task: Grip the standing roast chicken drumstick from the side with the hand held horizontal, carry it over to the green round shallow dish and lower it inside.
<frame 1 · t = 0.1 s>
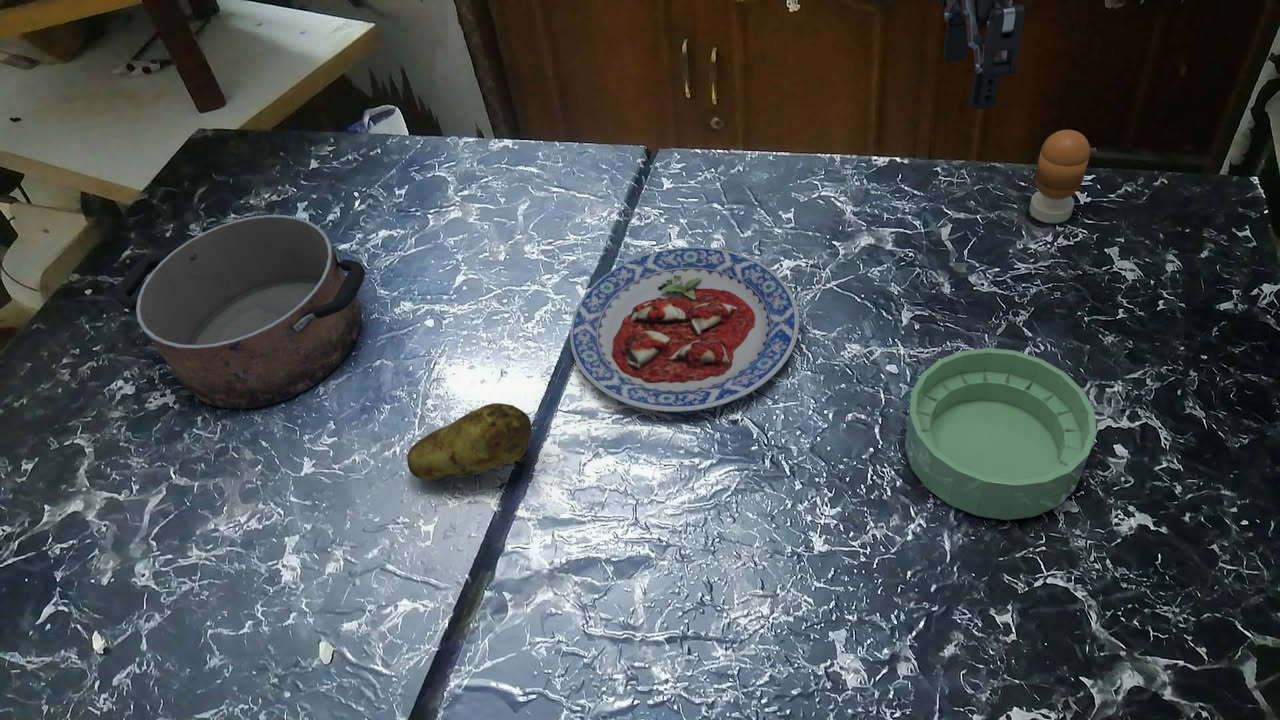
hand: (967, 81, 87), 26 cm above the table, tool pointing down, fingers open, 8 cm apart
cooking pot: (274, 342, 114), on the table
green round shallow dish: (990, 451, 90), on the table
potato: (479, 466, 97), on the table
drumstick: (1050, 210, 113), on the table
ceramic plate: (684, 336, 106), on the table
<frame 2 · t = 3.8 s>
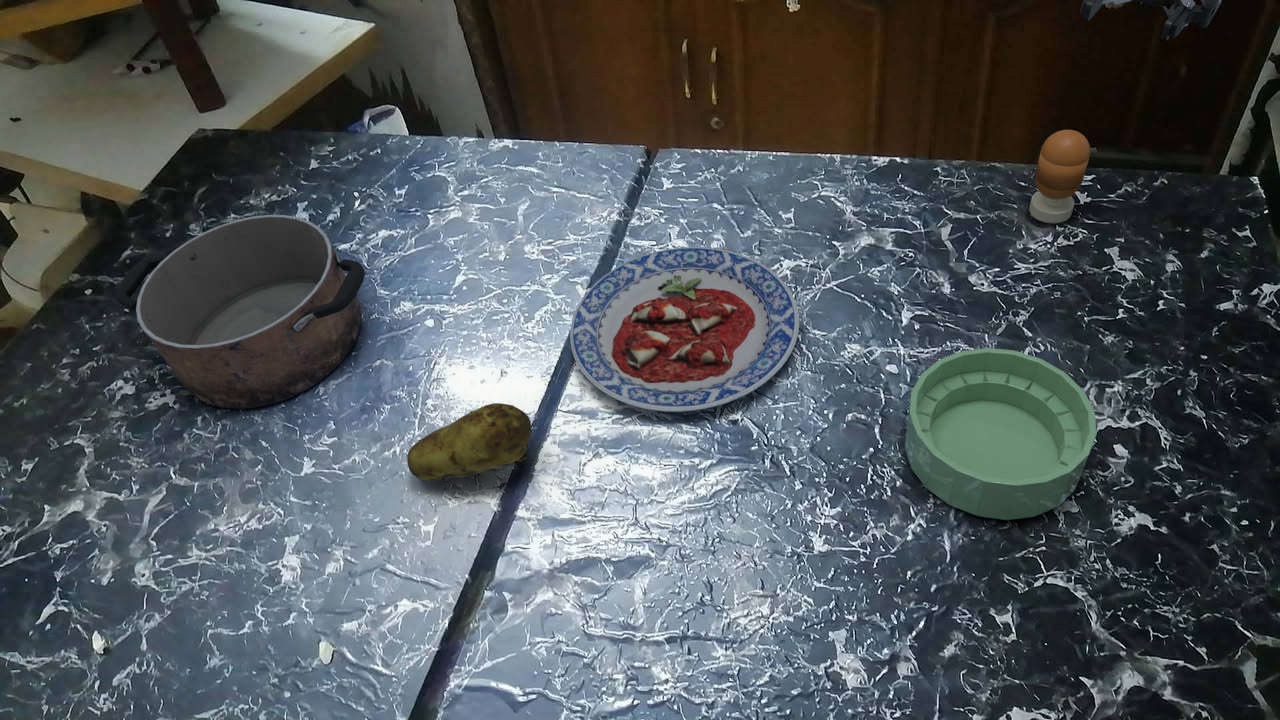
hand: (1125, 22, 102), 20 cm above the table, tool horizontal, fingers open, 8 cm apart
nothing on the table moved.
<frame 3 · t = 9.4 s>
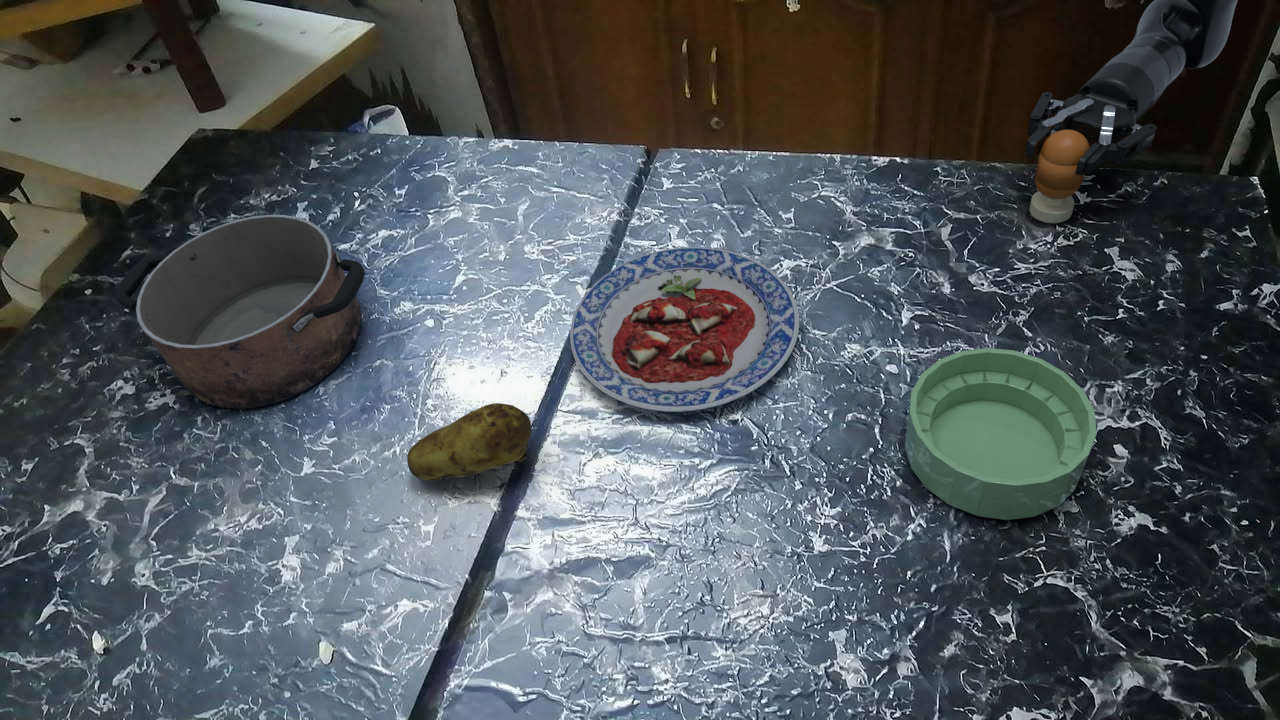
hand: (1055, 159, 105), 9 cm above the table, tool horizontal, fingers closed on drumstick, 5 cm apart
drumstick: (1050, 210, 113), on the table, touching gripper
everything else where it was.
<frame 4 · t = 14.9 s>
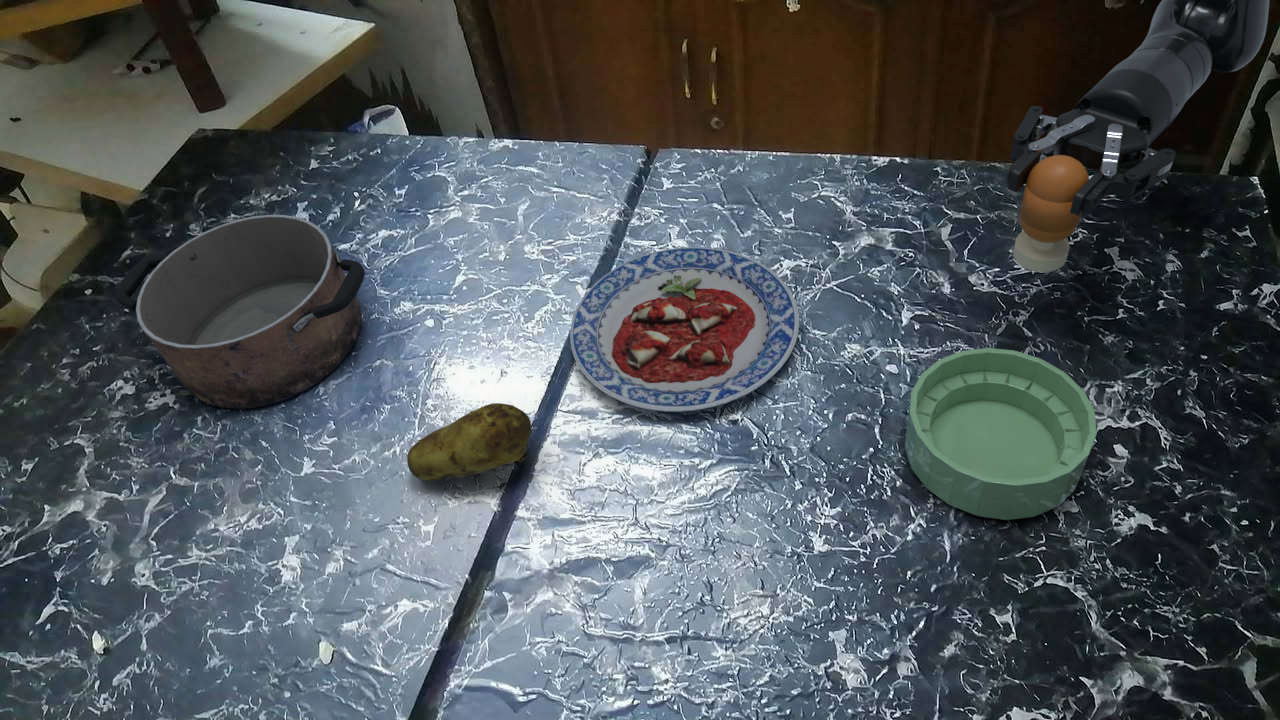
hand: (1044, 194, 82), 22 cm above the table, tool horizontal, fingers closed on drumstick, 5 cm apart
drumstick: (1039, 255, 89), point 13 cm above the table, touching gripper
everything else where it was.
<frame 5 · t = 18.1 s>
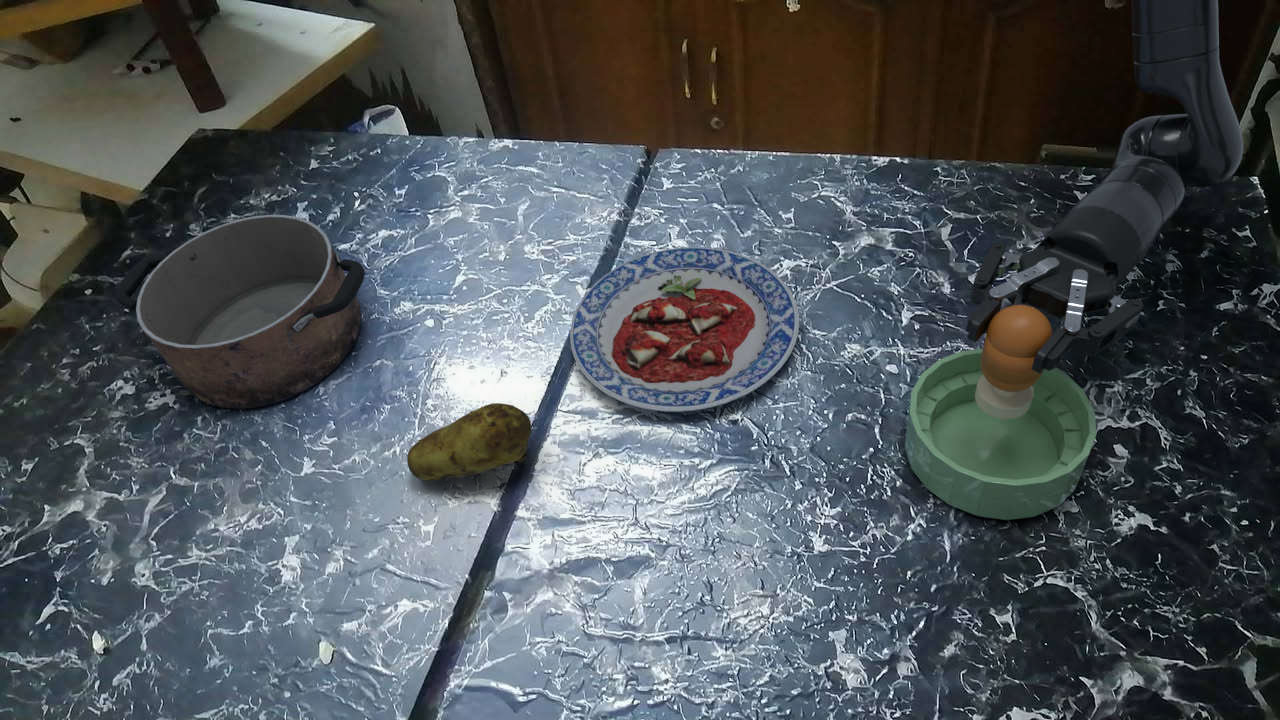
hand: (1004, 348, 77), 17 cm above the table, tool horizontal, fingers closed on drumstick, 5 cm apart
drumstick: (1002, 399, 85), point 8 cm above the table, touching gripper
everything else where it was.
when the fingers open (9 cm above the table, at t = 20.6 s): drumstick stays where it is, resting on green round shallow dish.
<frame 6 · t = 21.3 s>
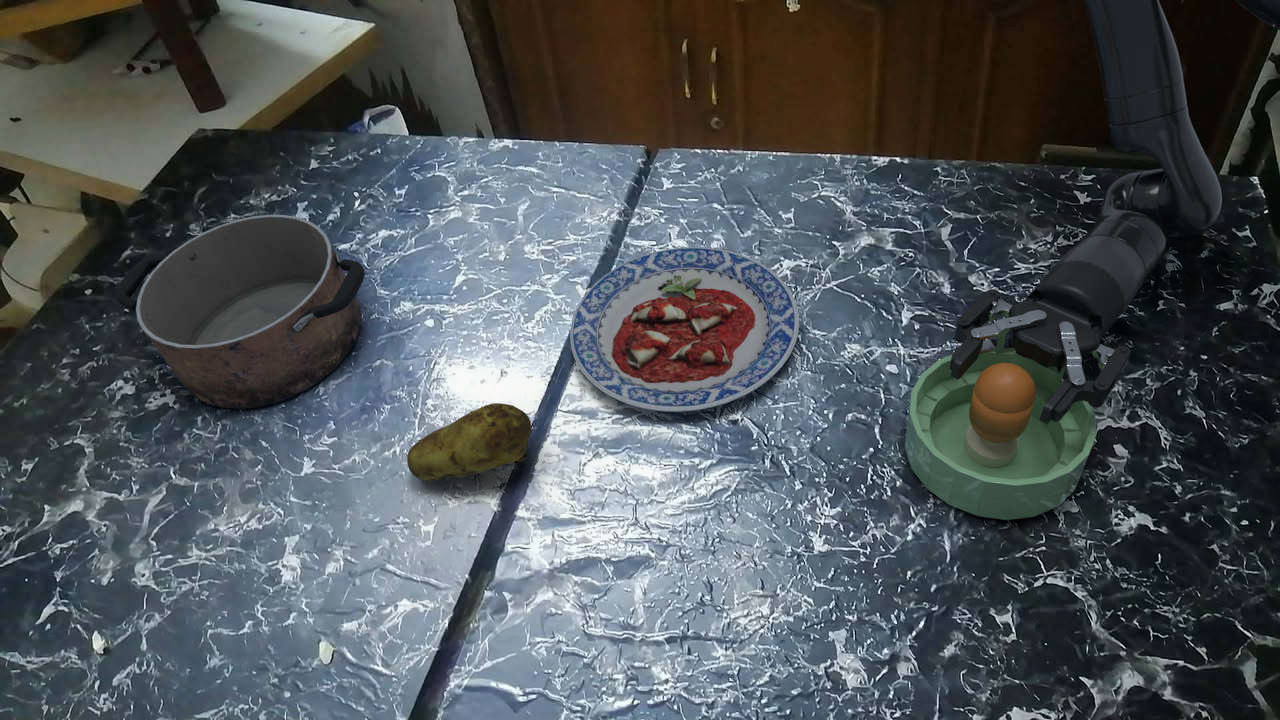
hand: (998, 393, 82), 10 cm above the table, tool horizontal, fingers open, 8 cm apart
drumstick: (990, 447, 90), resting on green round shallow dish
everything else where it was.
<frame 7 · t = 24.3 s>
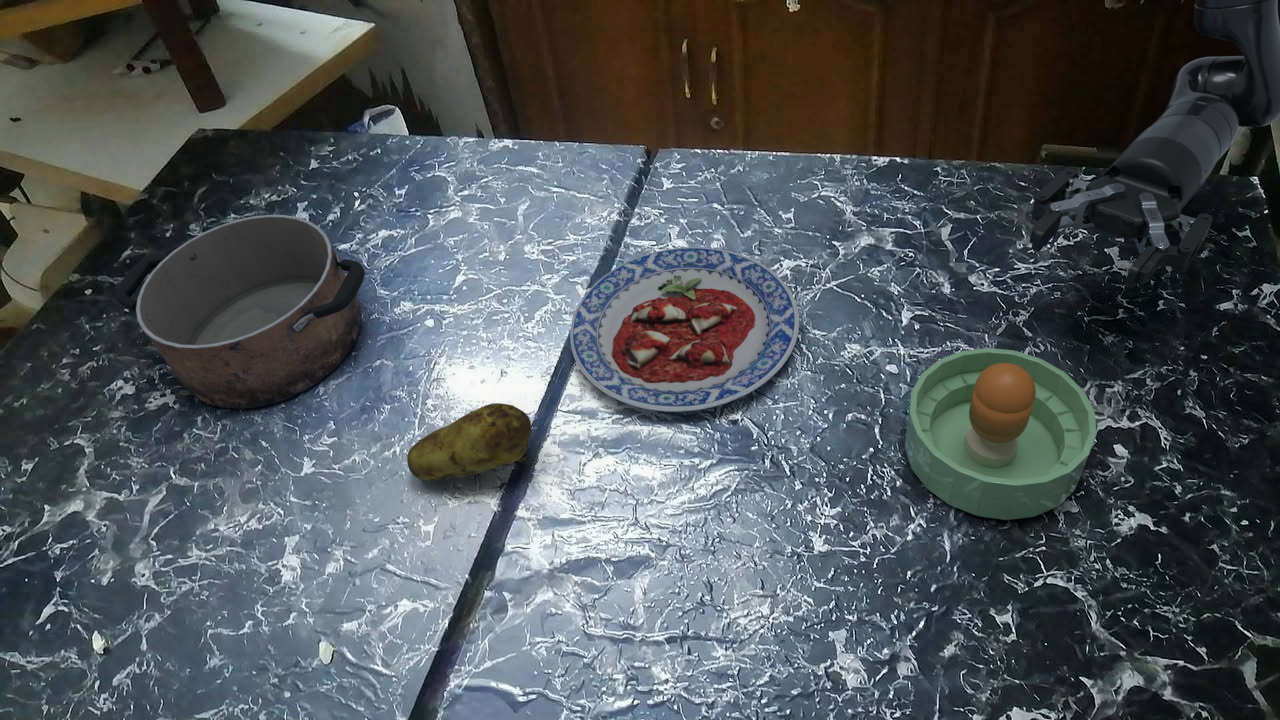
hand: (1081, 261, 82), 17 cm above the table, tool horizontal, fingers open, 8 cm apart
nothing on the table moved.
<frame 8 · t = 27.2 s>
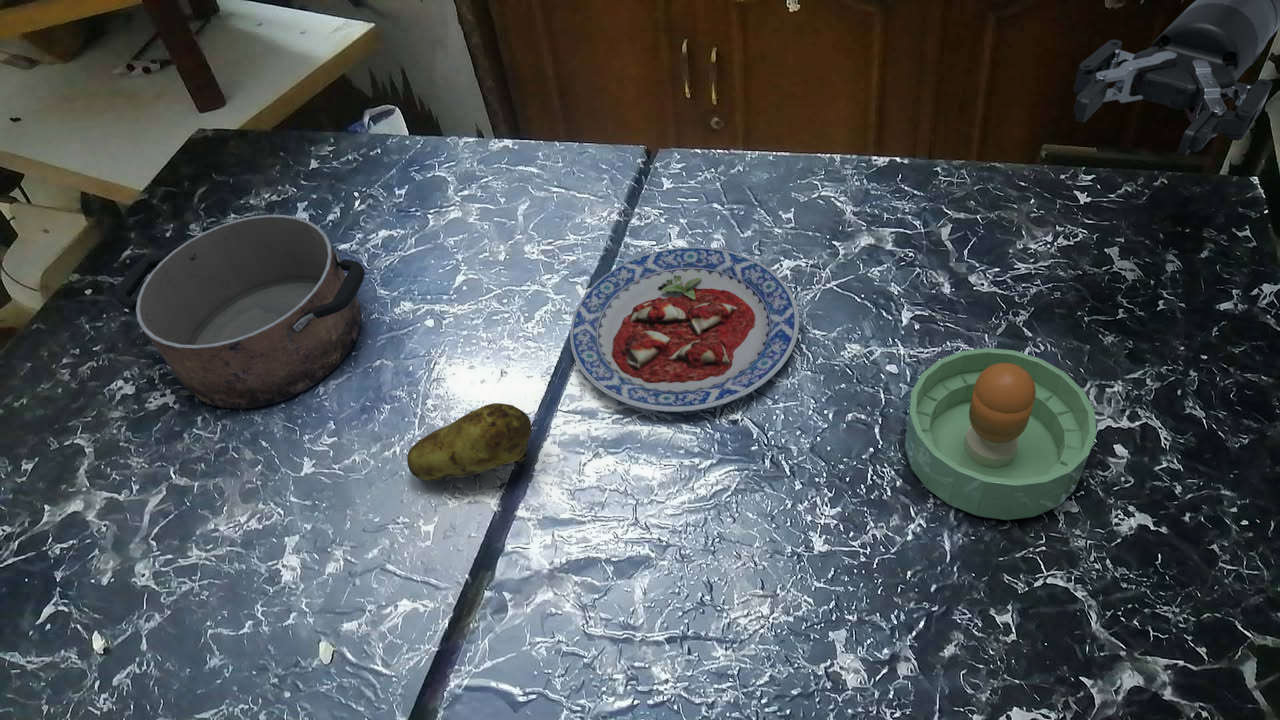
hand: (1131, 128, 77), 28 cm above the table, tool horizontal, fingers open, 8 cm apart
nothing on the table moved.
at the end: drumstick inside the target area in the green round shallow dish (0.1 cm from its centre), point 0.5 cm above the green round shallow dish's base; the gripper is holding nothing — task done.
